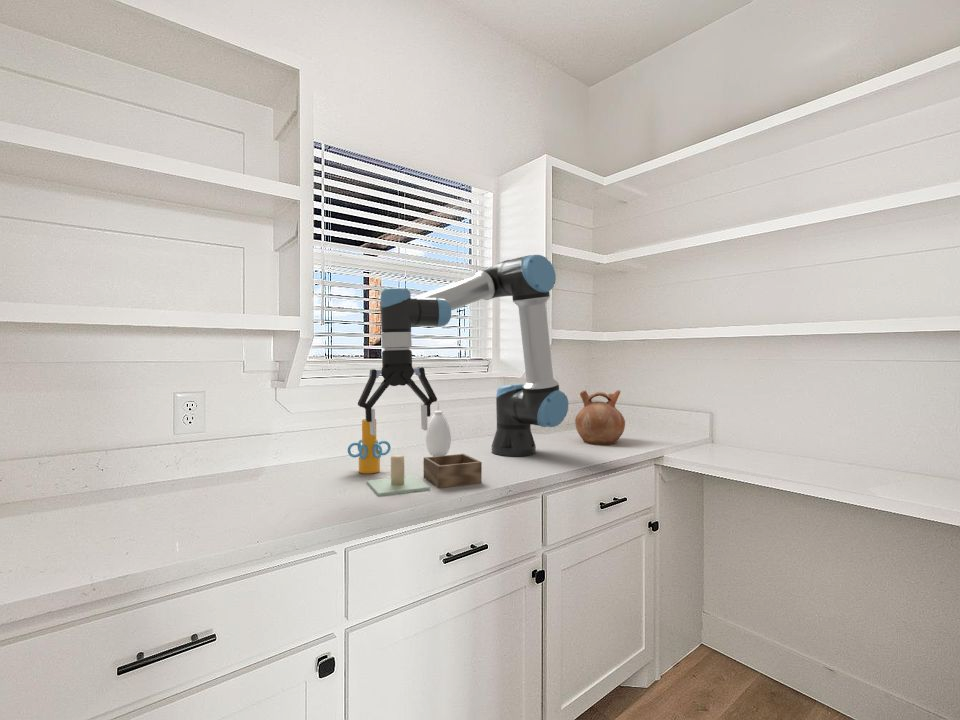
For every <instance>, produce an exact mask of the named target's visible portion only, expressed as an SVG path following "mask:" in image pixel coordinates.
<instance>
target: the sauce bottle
mask: <svg viewBox="0 0 960 720" xmlns="http://www.w3.org/2000/svg"><path fill="white" fill-rule="evenodd" d="M433 413H434V414H433V415H432V417H431V418H430V420H429V421H428V424H427V428H428V430H426V435H425V444H426V448H427V452H428V454H429V455H430V456H432V457H434V456H444V455H448V453H449V450H450V448H451V443H452V442H451V441H452V434H451V429H450V425H449V423H448V421H447V418H446V417H445V415H444V414H443V411H442V410H440V403H439V402H438V403H437V410H435V411H433Z"/></svg>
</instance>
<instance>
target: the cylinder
mask: <svg viewBox="0 0 960 720" xmlns="http://www.w3.org/2000/svg"><path fill="white" fill-rule="evenodd" d="M375 432H376V433H377V419H376V418H375ZM382 444H384V445H385V444H386V445H387V450H386V451H384V452H383V448H382V446H381V445H382ZM353 446H356V447H357V451H358V453H356V454H354V453H352V452H351V449H352V448H353ZM391 449H392V448H391V444H390V442H388V441H387V440H381V441H378V439H377V434H376V435H371V434H370V422H367V421H366V418H364V419H362V420H361V439H360V440H358V442H351V443H350V444H349V445H348V447H347V454H348V455H349V456H350V457H352V458H358V472H359V473H360V474H366V475H368V474H369V475H370V474H377V473H379V472H380V470H381V457H382V456H386V455H388V454H389V453H390V451H391Z"/></svg>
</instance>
